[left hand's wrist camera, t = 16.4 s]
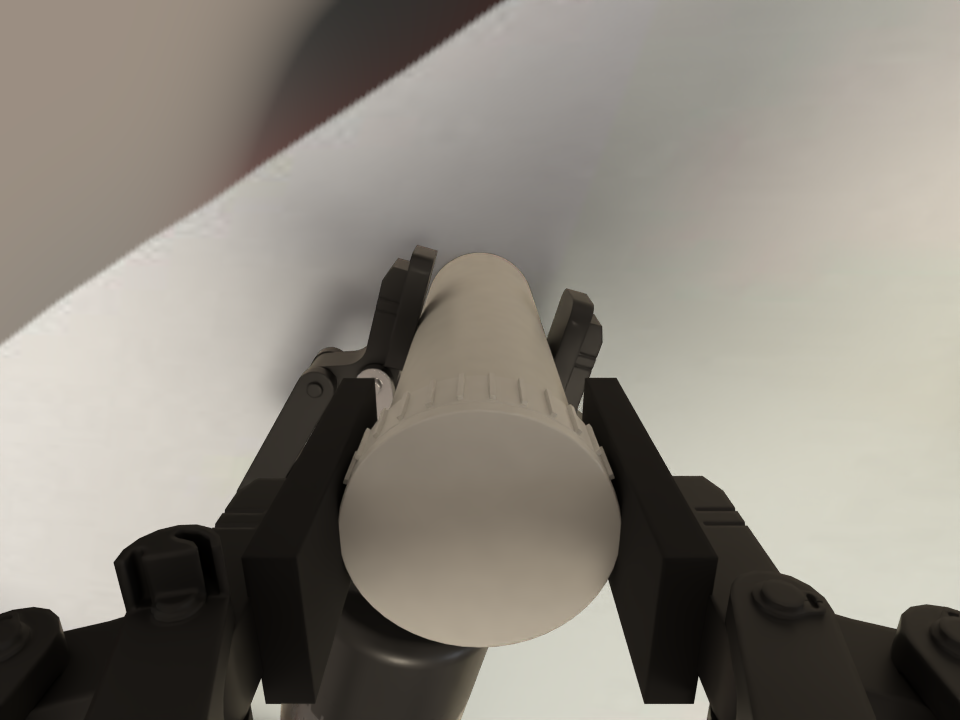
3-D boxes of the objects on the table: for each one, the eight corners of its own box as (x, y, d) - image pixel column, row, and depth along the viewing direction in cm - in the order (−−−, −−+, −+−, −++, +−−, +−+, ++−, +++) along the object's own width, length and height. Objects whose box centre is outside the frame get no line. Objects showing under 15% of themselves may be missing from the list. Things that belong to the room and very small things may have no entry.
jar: (513, 237, 25) (560, 377, 10) (544, 334, 26) (625, 578, 12) (412, 272, 25) (320, 453, 11) (448, 366, 27) (411, 636, 12)
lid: (325, 388, 11) (301, 424, 10) (601, 354, 11) (619, 387, 10) (377, 604, 13) (364, 663, 12) (615, 579, 13) (632, 636, 11)
